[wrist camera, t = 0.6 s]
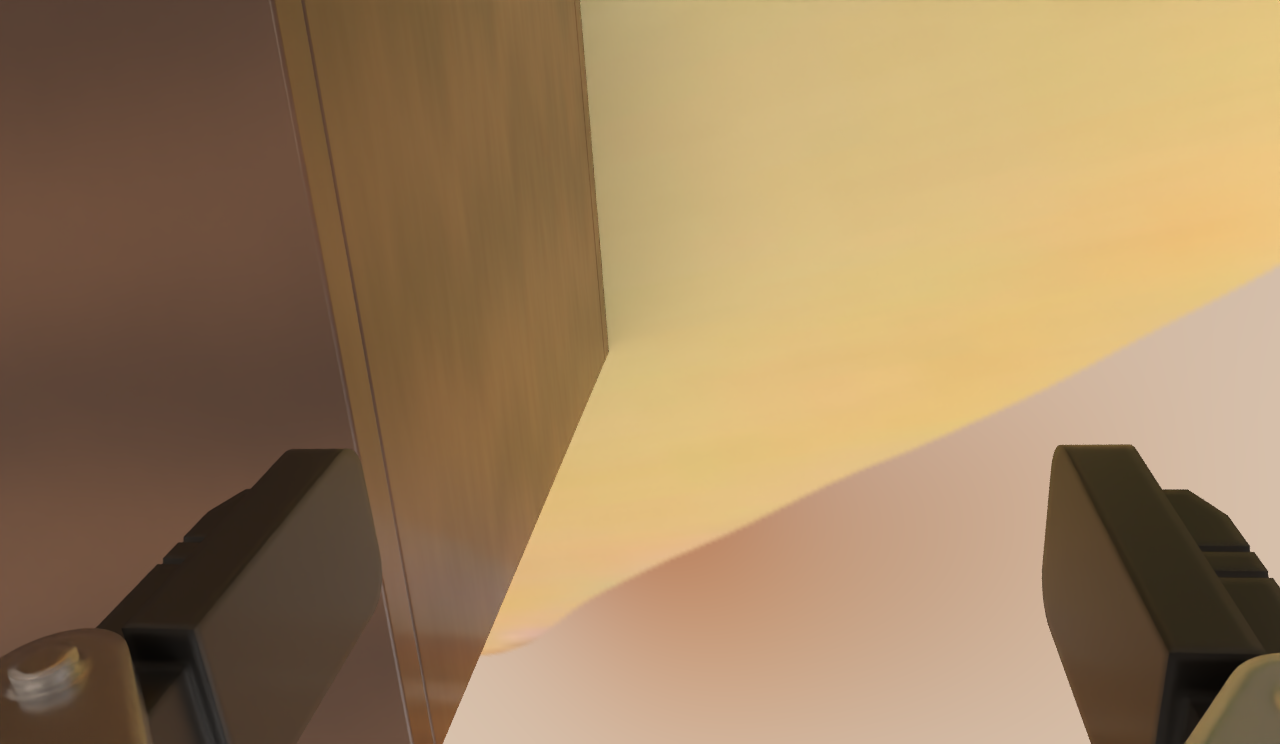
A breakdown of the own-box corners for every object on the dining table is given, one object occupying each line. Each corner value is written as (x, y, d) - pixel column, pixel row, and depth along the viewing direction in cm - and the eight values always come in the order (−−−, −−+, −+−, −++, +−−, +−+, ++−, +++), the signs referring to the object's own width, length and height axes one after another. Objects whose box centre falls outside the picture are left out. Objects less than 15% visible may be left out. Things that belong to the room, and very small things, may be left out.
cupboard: (-101, -78, 40) (-1188, -87, 18) (568, -133, 36) (230, -227, 14) (34, 360, 47) (-632, 742, 25) (609, 352, 43) (422, 794, 21)
